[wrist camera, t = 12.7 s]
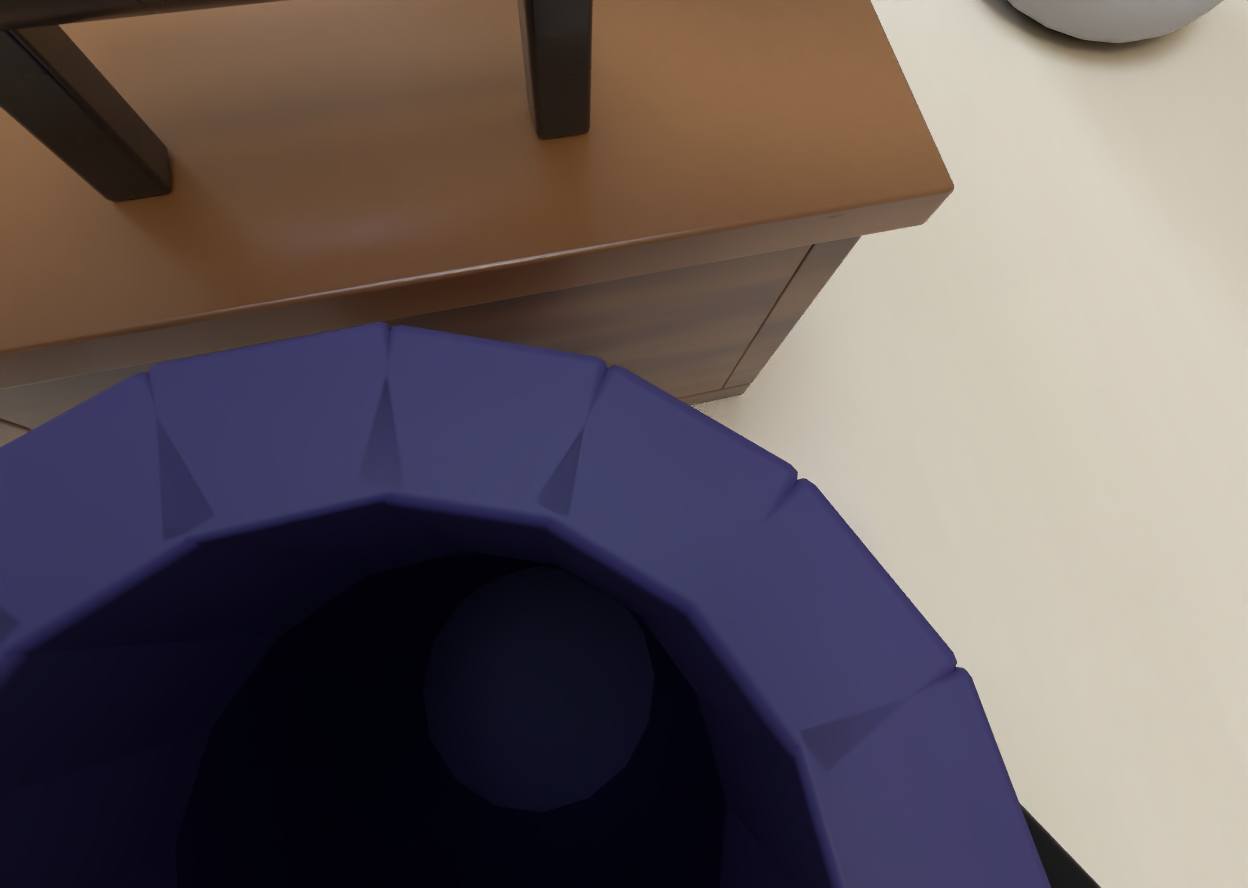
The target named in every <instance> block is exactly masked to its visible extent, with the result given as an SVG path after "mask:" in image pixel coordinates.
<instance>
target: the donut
mask: <svg viewBox="0 0 1248 888" xmlns="http://www.w3.org/2000/svg"><path fill="white" fill-rule="evenodd" d="M1008 1H1009V2H1010V3H1011V4H1012V5H1013V6H1014V7H1015V8H1016V9H1018V10H1019V11H1021V12H1022V13H1024V14H1026V15H1027V16H1029V17H1031V18H1032V19H1034V20H1036V21H1037V22H1039V23H1040V24H1042V25H1044V26H1045V27H1047V28H1050V29H1053V30H1056V31H1059V32H1062V33H1064V34H1067V35H1070V36H1073V37H1076V38H1079V39H1082V40H1090V41H1100V42H1110V43H1124V42H1131V41H1137V40H1143V39H1148V38H1154V37H1160V36H1164V35H1167V34H1169V33H1171V32H1173V31H1176V30H1178V29H1180V28H1182V27H1183V26H1185V25H1187V24H1189V23H1190V22H1192V21H1194V20H1195V19H1197V18H1199V17H1201V16H1202V15H1204V14H1206V13H1207V12H1209V11H1210V10H1211V9H1213V8H1214V7H1215V6H1216V5H1218V4H1219V3H1220V2H1222V1H1223V0H1008Z"/></svg>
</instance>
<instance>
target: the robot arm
mask: <svg viewBox="0 0 1248 888" xmlns="http://www.w3.org/2000/svg"><path fill="white" fill-rule="evenodd" d="M1019 804H1020V803H1019ZM1020 807H1021V809H1022V812H1023V815H1024V817H1025V820H1026V823H1027V825H1028V828H1029V830H1030V833H1031V836H1032V838H1033V841H1034V844H1035V846H1036V849H1037V852H1038V854H1039V857H1040V860H1041V862H1042V865H1043V867H1044V870H1045V873H1046V875H1047V878H1048V881H1049V883H1050V886H1051V888H1101V887H1100V886H1099V885H1098V884H1097V883H1096V882H1095V881H1094V880H1093V879H1092V878H1091V877H1090V876H1089V875H1088V874H1087V873H1086V871H1085V870H1084V869H1083V868H1082V867H1081V866H1080V865H1079V864H1078V863H1077V862H1076V861H1075V860H1074V859H1073V858H1072V857H1071V856H1070V855H1069V854H1068V853H1067V852H1066V851H1065V850H1064V849H1063V848H1062V847H1061V846H1060V844H1059V843H1058V842H1057V841H1056V840H1055V839H1054V838H1053V837H1052V836H1051V835H1050V834H1049V833H1048V832H1047V831H1046V830H1045V829H1044V828H1043V827H1042V826H1041V825H1040V824H1039V823H1038V822H1037V821H1036V820H1035V819H1034V817H1033V816H1032V815H1031V814H1030V813H1029V812H1028V811H1027V810H1026V809H1025V808H1024V807H1023V806H1022V805H1021V804H1020Z"/></svg>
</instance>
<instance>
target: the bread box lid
mask: <svg viewBox="0 0 1248 888" xmlns="http://www.w3.org/2000/svg"><path fill="white" fill-rule="evenodd" d="M953 189H954V184H953V182H952V180H951V178H950V175H949V173H948V171H947V169H946V167H945V164H944V162H943V160H942V158H941V156H940V153H939V151H938V149H937V147H936V145H935V142H934V140H933V138H932V136H931V133H930V131H929V129H928V127H927V125H926V122H925V120H924V118H923V116H922V114H921V111H920V109H919V107H918V105H917V103H916V100H915V98H914V96H913V94H912V91H911V89H910V87H909V85H908V83H907V80H906V78H905V76H904V74H903V72H902V69H901V67H900V65H899V63H898V61H897V58H896V56H895V54H894V52H893V50H892V47H891V45H890V43H889V41H888V38H887V36H886V34H885V32H884V30H883V27H882V25H881V23H880V21H879V19H878V16H877V14H876V12H875V10H874V8H873V5H872V3H871V1H870V0H0V389H6V388H12V387H17V386H23V385H28V384H34V383H40V382H45V381H51V380H56V379H62V378H68V377H73V376H79V375H84V374H90V373H96V372H101V371H107V370H112V369H118V368H123V367H129V366H135V365H140V364H146V363H151V362H157V361H163V360H168V359H174V358H179V357H185V356H191V355H196V354H202V353H207V352H213V351H218V350H224V349H230V348H235V347H241V346H246V345H252V344H258V343H263V342H269V341H274V340H280V339H286V338H291V337H297V336H302V335H308V334H314V333H319V332H325V331H330V330H336V329H341V328H347V327H353V326H358V325H364V324H369V323H375V322H381V321H386V320H392V319H397V318H403V317H409V316H414V315H420V314H425V313H431V312H436V311H442V310H448V309H453V308H459V307H464V306H470V305H476V304H481V303H487V302H492V301H498V300H504V299H509V298H515V297H520V296H526V295H532V294H537V293H543V292H548V291H554V290H559V289H565V288H571V287H576V286H582V285H587V284H593V283H599V282H604V281H610V280H615V279H621V278H627V277H632V276H638V275H643V274H649V273H654V272H660V271H666V270H671V269H677V268H682V267H688V266H694V265H699V264H705V263H710V262H716V261H722V260H727V259H733V258H738V257H744V256H750V255H755V254H761V253H766V252H772V251H777V250H783V249H789V248H794V247H800V246H805V245H811V244H817V243H822V242H828V241H833V240H839V239H845V238H850V237H856V236H861V235H867V234H872V233H878V232H884V231H889V230H895V229H900V228H906V227H912V226H917V225H921V224H923V223H925V222H926V221H927V220H928V219H929V218H930V216H931V215H932V214H933V213H934V212H935V211H936V210H937V208H938V207H939V206H940V205H941V204H942V203H943V202H944V201H945V199H946V198H947V197H948V196H949V195H950V194H951V193H952V192H953Z"/></svg>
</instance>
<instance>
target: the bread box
mask: <svg viewBox="0 0 1248 888" xmlns="http://www.w3.org/2000/svg"><path fill="white" fill-rule="evenodd" d="M861 236H862V235H861ZM861 236H856V237H850V238H845V239H839V240H833V241H828V242H822V243H817V244H811V245H805V246H800V247H794V248H789V249H783V250H777V251H772V252H766V253H761V254H755V255H750V256H744V257H738V258H733V259H727V260H722V261H716V262H710V263H705V264H699V265H694V266H688V267H682V268H677V269H671V270H666V271H660V272H654V273H649V274H643V275H638V276H632V277H627V278H621V279H615V280H610V281H604V282H599V283H593V284H587V285H582V286H576V287H571V288H565V289H559V290H554V291H548V292H543V293H537V294H532V295H526V296H520V297H515V298H509V299H504V300H498V301H492V302H487V303H481V304H476V305H470V306H464V307H459V308H453V309H448V310H442V311H436V312H431V313H425V314H420V315H414V316H409V317H403V318H397V319H392V320H386V321H381V322H384V323H387V324H388V325H389V326H390V328H391V329H392V328H393V326H398V325H406V326H412V327H418V328H424V329H430V330H436V331H442V332H449V333H455V334H461V335H467V336H473V337H479V338H485V339H492V340H498V341H504V342H510V343H516V344H522V345H528V346H535V347H541V348H547V349H553V350H559V351H565V352H571V353H578V354H584V355H590V356H596V357H598V358H600V359H602V360H604V361H605V362H606V364H607V368H610V367H611V366H613V365H616V366H620V367H624V368H625V369H627V370H629V371H631V372H632V373H634V374H636V375H637V376H639V377H641V378H643V379H644V380H646V381H648V382H650V383H651V384H653V385H655V386H656V387H658V388H660V389H662V390H663V391H665V392H667V393H668V394H670V395H672V396H674V397H675V398H677V399H679V400H681V401H682V402H684V403H686V404H687V405H692V404H697V403H702V402H707V401H711V400H716V399H721V398H725V397H730V396H735V395H740V394H743V393H744V392H745V390H746V389H747V388H748V386H749V385H750V383H752V382H753V380H754V379H755V378H756V376H757V375H758V374H759V372H760V371H761V370H762V368H763V367H764V366H765V364H766V363H767V362H768V360H769V359H770V358H771V356H772V355H773V354H774V352H775V351H776V350H777V348H778V347H779V346H780V344H781V343H782V342H783V340H784V339H785V338H786V336H787V335H788V334H789V332H790V331H791V330H792V328H793V327H794V326H795V324H796V323H797V321H798V320H799V319H800V317H801V316H802V315H803V313H804V312H805V311H806V309H807V308H808V307H809V305H810V304H811V303H812V301H813V300H814V299H815V297H816V296H817V295H818V293H819V292H820V291H821V289H822V288H823V287H824V285H825V284H826V283H827V281H828V280H829V279H830V277H831V276H832V275H833V273H834V272H835V271H836V269H837V268H838V267H839V265H840V264H841V263H842V261H843V260H844V259H845V257H846V256H847V255H848V253H849V252H850V251H851V249H852V248H853V247H854V245H855V244H856V243H857V241H858V240H859V239H860V237H861ZM375 323H376V322H375ZM369 324H371V323H369ZM364 325H366V324H364ZM358 326H360V325H358ZM353 327H355V326H353ZM347 328H350V327H347ZM341 329H344V328H341ZM336 330H339V329H336ZM330 331H333V330H330ZM325 332H328V331H325ZM319 333H323V332H319ZM314 334H317V333H314ZM308 335H312V334H308ZM302 336H307V335H302ZM297 337H301V336H297ZM291 338H296V337H291ZM291 338H286V339H291ZM280 340H285V339H280ZM280 340H274V341H269V342H275V341H280ZM269 342H263V343H258V344H252V345H246V346H241V347H235V348H230V349H224V350H218V351H213V352H207V353H202V354H196V355H191V356H185V357H179V358H174V359H168V360H163V361H157V362H151V363H146V364H140V365H135V366H129V367H123V368H118V369H112V370H107V371H101V372H96V373H90V374H84V375H79V376H73V377H68V378H62V379H56V380H51V381H45V382H40V383H34V384H28V385H23V386H17V387H12V388H6V389H0V447H2V446H3V445H5V444H7V443H9V442H11V441H12V440H14V439H16V438H18V437H20V436H22V435H23V434H25V433H27V432H29V431H31V430H33V429H34V428H36V427H38V426H40V425H42V424H44V423H45V422H47V421H49V420H51V419H53V418H55V417H56V416H58V415H60V414H62V413H64V412H66V411H67V410H69V409H71V408H73V407H75V406H77V405H78V404H80V403H82V402H84V401H86V400H88V399H89V398H91V397H93V396H95V395H97V394H99V393H100V392H102V391H104V390H106V389H108V388H110V387H111V386H113V385H115V384H117V383H119V382H121V381H122V380H124V379H126V378H128V377H130V376H132V375H133V374H137V373H141V372H148V371H149V369H150V366H152V365H154V364H157V363H162V362H168V361H173V360H178V359H184V358H189V357H194V356H200V355H205V354H210V353H216V352H221V351H227V350H232V349H237V348H243V347H248V346H253V345H259V344H264V343H269Z"/></svg>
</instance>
